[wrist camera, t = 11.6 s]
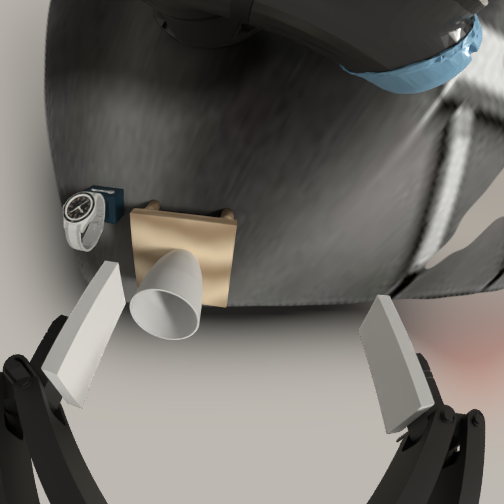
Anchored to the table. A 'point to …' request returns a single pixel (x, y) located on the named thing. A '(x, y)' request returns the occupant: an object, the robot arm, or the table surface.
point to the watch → (91, 214)
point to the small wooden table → (186, 245)
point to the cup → (170, 297)
